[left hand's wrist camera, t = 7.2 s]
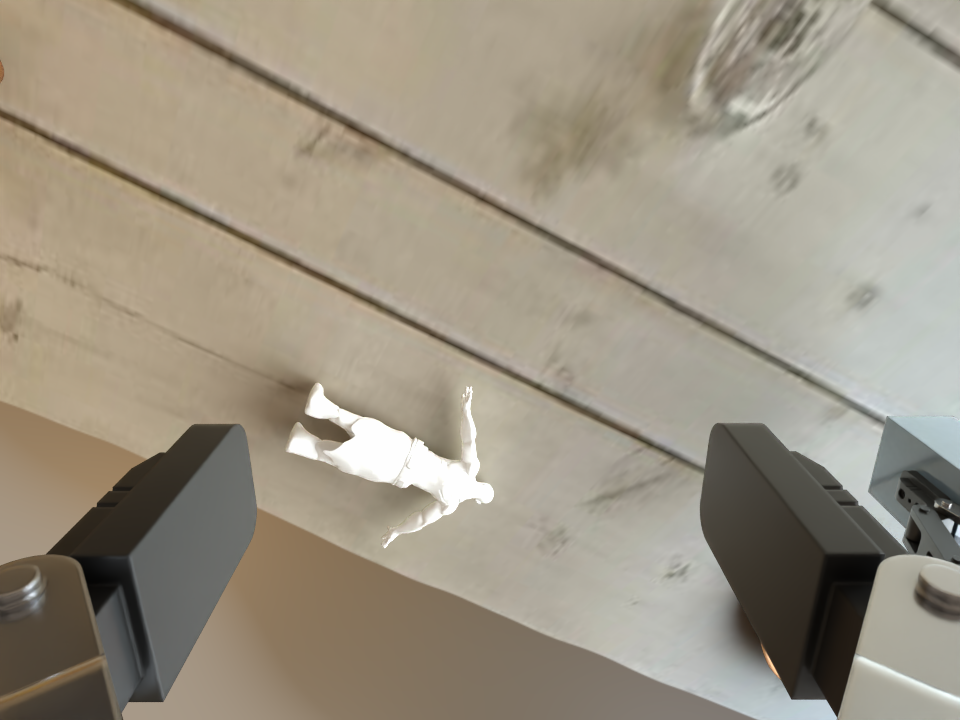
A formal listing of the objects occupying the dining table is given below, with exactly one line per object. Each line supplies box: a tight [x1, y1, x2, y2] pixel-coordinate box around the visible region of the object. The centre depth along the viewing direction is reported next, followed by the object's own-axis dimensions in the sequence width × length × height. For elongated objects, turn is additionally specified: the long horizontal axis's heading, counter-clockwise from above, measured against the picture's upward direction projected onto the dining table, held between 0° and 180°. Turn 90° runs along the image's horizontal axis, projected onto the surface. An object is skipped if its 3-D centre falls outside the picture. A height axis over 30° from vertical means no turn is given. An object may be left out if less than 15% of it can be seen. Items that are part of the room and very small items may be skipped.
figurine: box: [285, 383, 494, 548], centre depth 54 cm, size 17×5×18 cm
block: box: [868, 416, 960, 537], centre depth 42 cm, size 5×6×8 cm
